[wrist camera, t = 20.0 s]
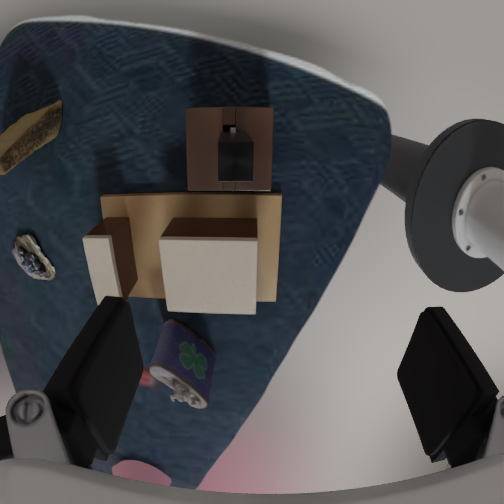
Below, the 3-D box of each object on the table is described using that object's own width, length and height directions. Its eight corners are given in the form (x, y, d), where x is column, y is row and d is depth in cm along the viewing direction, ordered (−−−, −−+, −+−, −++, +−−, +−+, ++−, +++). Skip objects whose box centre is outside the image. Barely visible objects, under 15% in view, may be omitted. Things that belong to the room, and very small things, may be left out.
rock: (-9, 183, 30) (38, 199, 30) (-49, 156, 22) (-5, 167, 22) (27, 112, 32) (78, 118, 32) (-3, 77, 24) (49, 75, 24)
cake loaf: (257, 217, 34) (257, 240, 28) (255, 283, 37) (255, 314, 32) (173, 217, 34) (158, 239, 28) (178, 281, 37) (167, 311, 32)
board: (281, 193, 34) (282, 195, 33) (275, 297, 39) (275, 301, 38) (103, 194, 34) (100, 197, 33) (119, 291, 39) (117, 296, 38)
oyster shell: (23, 223, 35) (15, 229, 33) (64, 260, 37) (57, 267, 36) (10, 256, 37) (3, 262, 35) (48, 290, 40) (42, 297, 38)
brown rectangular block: (129, 216, 34) (108, 238, 28) (138, 279, 37) (122, 308, 32) (105, 217, 34) (82, 238, 28) (116, 278, 37) (97, 306, 32)
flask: (160, 323, 41) (140, 382, 32) (175, 313, 41) (157, 373, 31) (206, 363, 45) (197, 423, 35) (221, 355, 44) (215, 416, 34)
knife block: (269, 107, 30) (273, 107, 24) (267, 174, 33) (271, 191, 27) (199, 107, 30) (185, 108, 24) (200, 173, 33) (187, 190, 27)
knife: (241, 123, 30) (253, 135, 17) (241, 152, 31) (253, 186, 18) (221, 123, 30) (217, 135, 17) (221, 153, 31) (218, 187, 18)
